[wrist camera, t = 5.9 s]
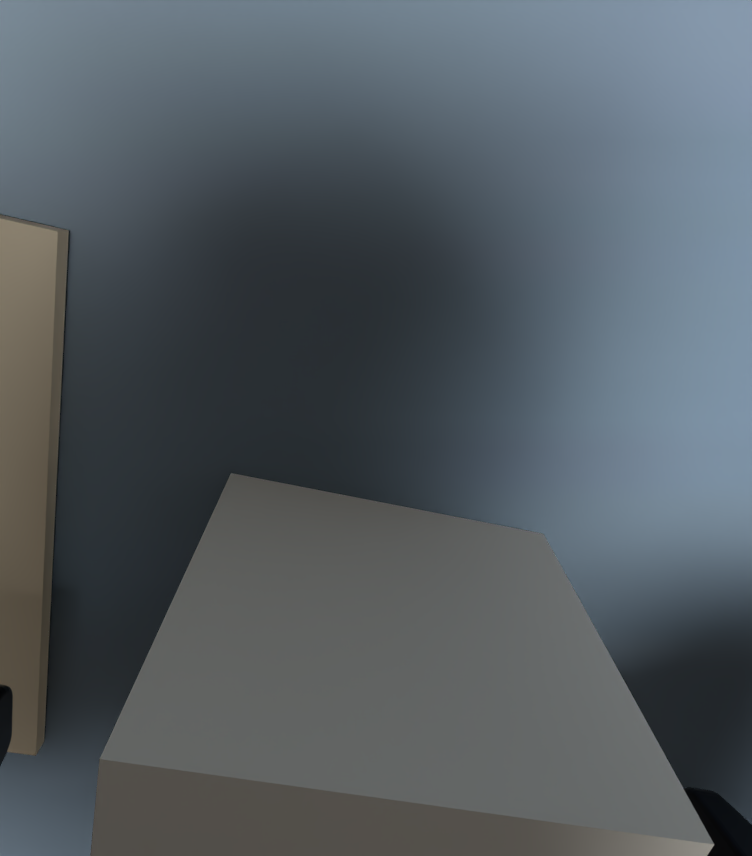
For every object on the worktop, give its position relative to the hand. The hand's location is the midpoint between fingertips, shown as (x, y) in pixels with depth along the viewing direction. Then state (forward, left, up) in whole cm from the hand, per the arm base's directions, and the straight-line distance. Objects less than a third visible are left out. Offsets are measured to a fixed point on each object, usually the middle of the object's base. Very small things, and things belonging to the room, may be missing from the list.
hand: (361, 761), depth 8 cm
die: (0, 0, -2) cm, 3 cm away
